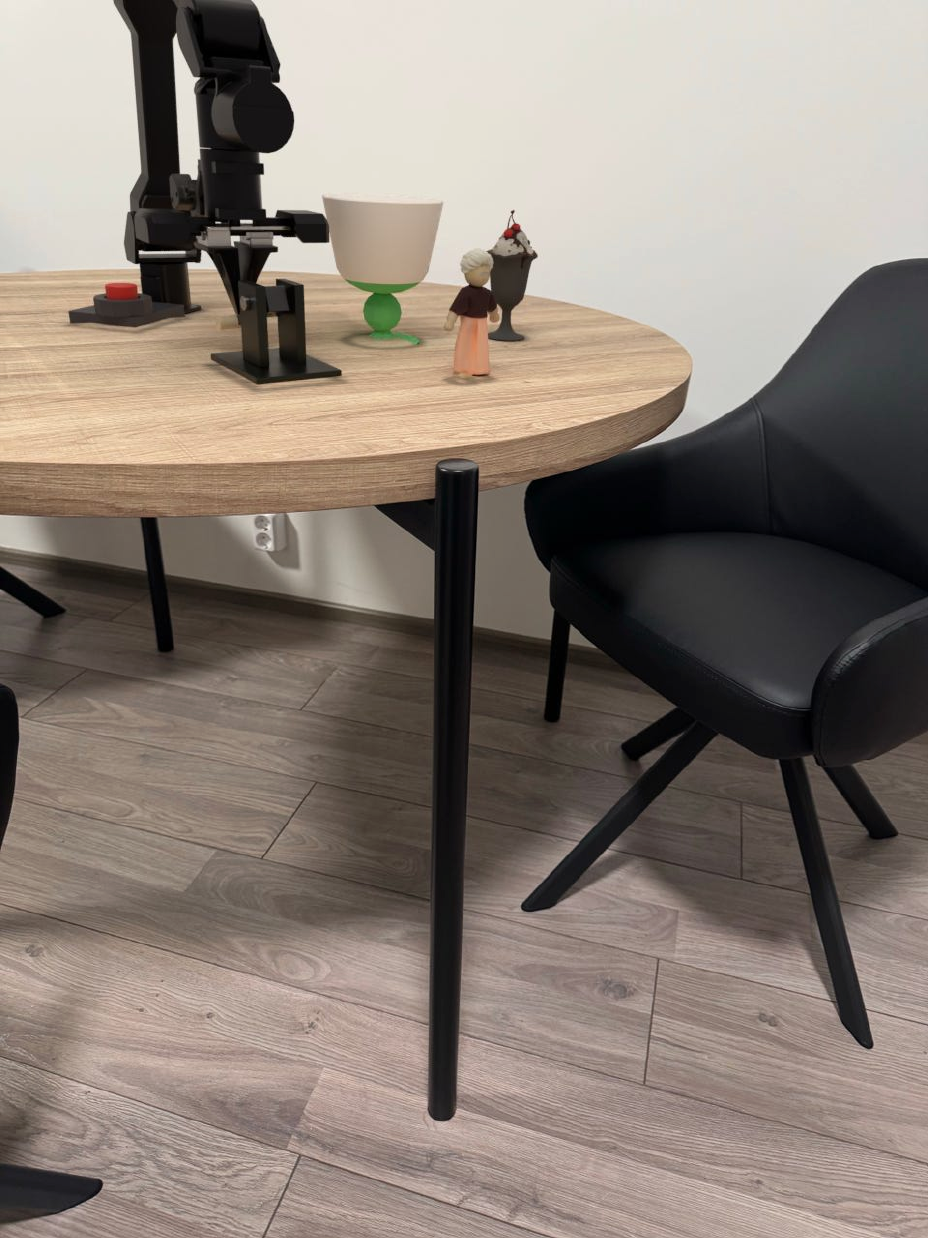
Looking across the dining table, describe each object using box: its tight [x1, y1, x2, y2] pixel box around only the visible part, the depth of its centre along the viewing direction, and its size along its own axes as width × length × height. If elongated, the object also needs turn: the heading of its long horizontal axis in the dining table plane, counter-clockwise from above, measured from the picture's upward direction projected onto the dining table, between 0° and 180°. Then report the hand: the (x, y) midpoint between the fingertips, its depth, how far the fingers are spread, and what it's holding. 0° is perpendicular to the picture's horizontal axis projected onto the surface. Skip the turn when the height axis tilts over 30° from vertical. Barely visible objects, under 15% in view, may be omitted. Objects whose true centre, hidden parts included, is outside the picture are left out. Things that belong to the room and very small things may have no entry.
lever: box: [215, 285, 289, 331], centre depth 93 cm, size 11×5×2 cm, turn 35°
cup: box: [321, 192, 444, 345], centre depth 106 cm, size 14×14×16 cm
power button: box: [104, 282, 139, 300], centre depth 109 cm, size 4×4×2 cm
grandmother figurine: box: [443, 247, 501, 379], centre depth 92 cm, size 8×4×13 cm, turn 148°
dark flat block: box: [67, 292, 186, 328], centre depth 112 cm, size 12×9×4 cm
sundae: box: [485, 209, 539, 342], centre depth 112 cm, size 7×7×15 cm
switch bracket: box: [210, 278, 343, 386], centre depth 91 cm, size 12×9×9 cm
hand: (240, 314), depth 97 cm, fingers closed, pressing on lever
